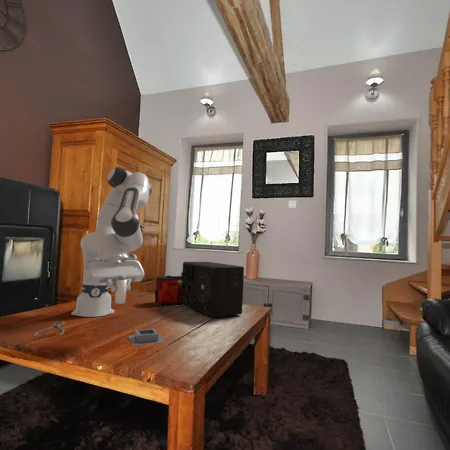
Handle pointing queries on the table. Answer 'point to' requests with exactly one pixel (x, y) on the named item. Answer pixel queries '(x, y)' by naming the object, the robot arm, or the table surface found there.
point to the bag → (168, 290)
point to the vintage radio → (212, 288)
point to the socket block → (145, 337)
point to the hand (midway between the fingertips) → (121, 290)
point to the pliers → (53, 327)
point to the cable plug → (121, 290)
